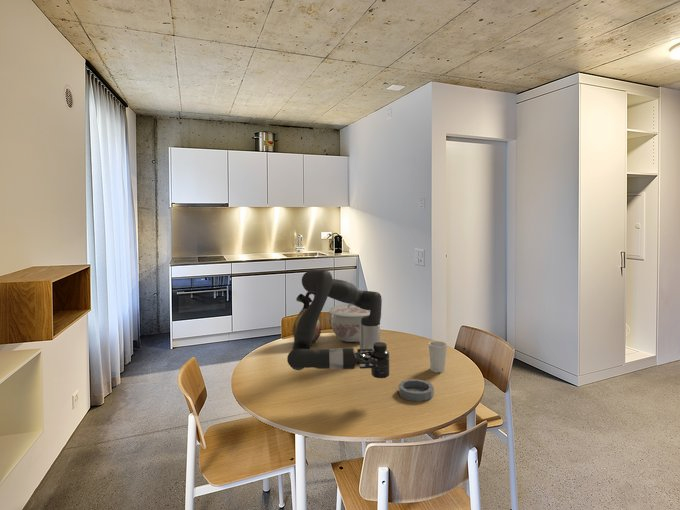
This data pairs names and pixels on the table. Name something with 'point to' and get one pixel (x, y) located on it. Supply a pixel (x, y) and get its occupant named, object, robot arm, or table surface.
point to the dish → (416, 390)
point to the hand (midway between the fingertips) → (386, 357)
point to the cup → (437, 356)
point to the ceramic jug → (305, 301)
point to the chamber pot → (347, 322)
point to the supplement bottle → (380, 352)
